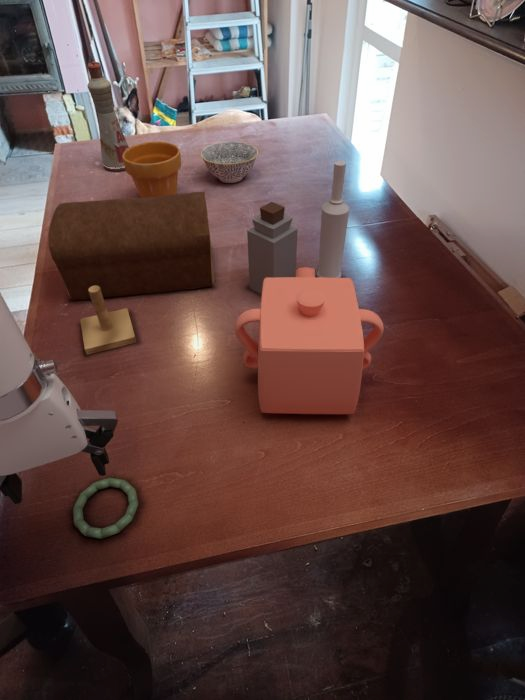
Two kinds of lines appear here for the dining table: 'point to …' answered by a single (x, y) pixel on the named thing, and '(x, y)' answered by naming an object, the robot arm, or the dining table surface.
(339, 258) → the bottle
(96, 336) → the stand
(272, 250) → the perfume bottle
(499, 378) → the dining table surface
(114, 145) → the bottle
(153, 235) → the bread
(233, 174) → the bowl
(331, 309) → the teapot
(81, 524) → the ring
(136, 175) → the flower pot
